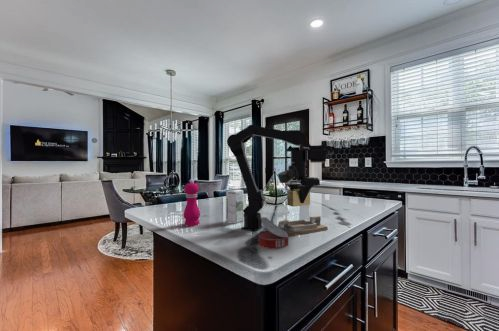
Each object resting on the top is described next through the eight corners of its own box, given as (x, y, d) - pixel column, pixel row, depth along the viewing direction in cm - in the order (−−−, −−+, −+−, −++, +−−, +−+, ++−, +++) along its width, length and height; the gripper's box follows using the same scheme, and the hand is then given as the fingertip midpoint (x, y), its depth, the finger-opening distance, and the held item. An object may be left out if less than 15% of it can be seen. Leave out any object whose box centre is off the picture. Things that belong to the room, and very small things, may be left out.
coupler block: (287, 205, 96) (287, 189, 96) (303, 203, 100) (303, 188, 100) (293, 206, 93) (292, 190, 93) (310, 204, 96) (309, 189, 96)
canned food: (271, 251, 86) (279, 224, 90) (291, 257, 78) (299, 227, 81) (246, 242, 81) (256, 213, 84) (265, 247, 73) (275, 215, 76)
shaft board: (270, 230, 97) (270, 218, 97) (311, 224, 105) (311, 213, 105) (284, 236, 88) (284, 224, 88) (327, 229, 96) (327, 218, 96)
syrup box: (234, 219, 115) (233, 189, 115) (243, 221, 112) (243, 189, 112) (226, 222, 111) (225, 190, 110) (236, 224, 107) (235, 191, 107)
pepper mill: (203, 223, 108) (203, 178, 108) (191, 227, 102) (191, 179, 102) (192, 221, 112) (191, 178, 112) (180, 225, 106) (179, 179, 106)
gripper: (268, 163, 101) (269, 200, 101) (295, 163, 84) (295, 208, 84) (291, 162, 106) (291, 198, 106) (320, 162, 89) (321, 205, 89)
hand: (298, 202), depth 96 cm, fingers closed on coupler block, 4 cm apart
